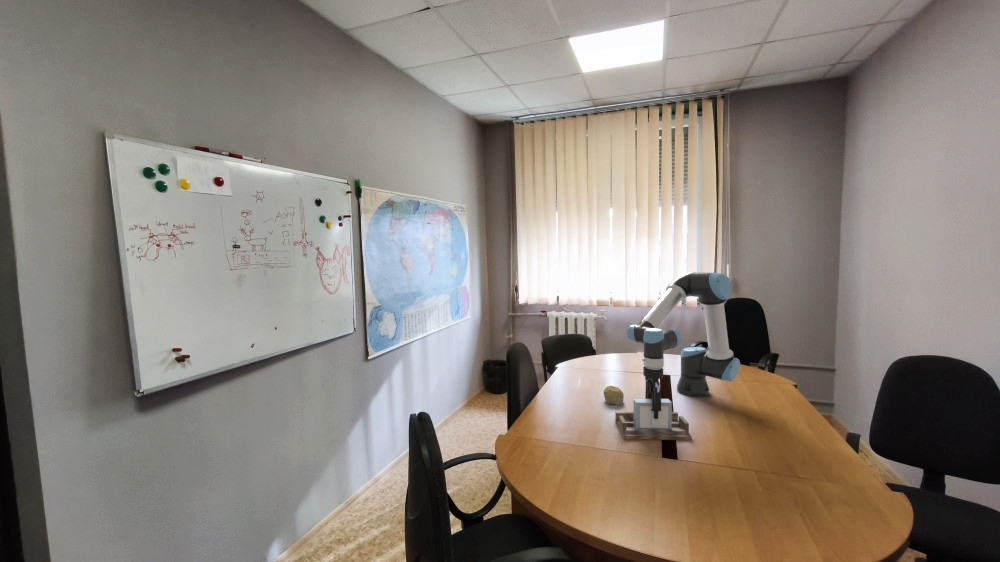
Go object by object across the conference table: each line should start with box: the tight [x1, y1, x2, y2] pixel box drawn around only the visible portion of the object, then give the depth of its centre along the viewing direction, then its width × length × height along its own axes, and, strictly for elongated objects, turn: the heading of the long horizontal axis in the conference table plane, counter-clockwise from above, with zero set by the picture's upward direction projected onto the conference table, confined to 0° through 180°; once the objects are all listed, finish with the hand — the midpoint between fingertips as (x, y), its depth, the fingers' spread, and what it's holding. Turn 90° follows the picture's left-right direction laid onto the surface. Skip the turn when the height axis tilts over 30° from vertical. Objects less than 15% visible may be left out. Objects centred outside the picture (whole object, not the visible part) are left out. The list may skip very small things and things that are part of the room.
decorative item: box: [603, 385, 625, 406], centre depth 191 cm, size 10×10×10 cm
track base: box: [614, 411, 693, 441], centre depth 161 cm, size 26×16×6 cm, turn 86°
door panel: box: [633, 398, 673, 429], centre depth 159 cm, size 14×4×12 cm, turn 86°
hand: (652, 422), depth 159 cm, fingers open, 5 cm apart
